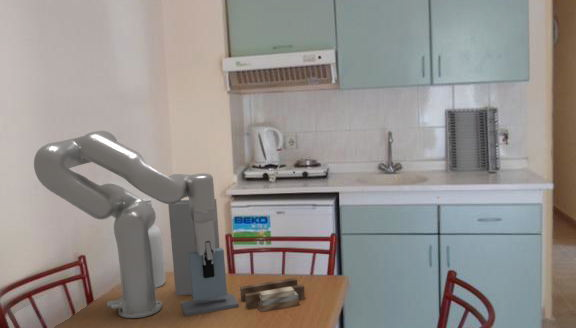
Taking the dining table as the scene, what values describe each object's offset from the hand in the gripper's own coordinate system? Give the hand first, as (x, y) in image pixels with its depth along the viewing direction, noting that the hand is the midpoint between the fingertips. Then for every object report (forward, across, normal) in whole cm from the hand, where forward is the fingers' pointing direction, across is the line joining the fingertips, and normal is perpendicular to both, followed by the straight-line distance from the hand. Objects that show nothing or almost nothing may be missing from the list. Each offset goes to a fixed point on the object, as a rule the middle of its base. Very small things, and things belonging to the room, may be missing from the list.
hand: (207, 274), depth 156 cm
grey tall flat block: (+10, -14, -1) cm, 17 cm away
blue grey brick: (+7, 0, 0) cm, 7 cm away
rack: (+10, +3, +19) cm, 21 cm away
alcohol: (+10, -28, -15) cm, 33 cm away
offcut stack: (+10, +9, +19) cm, 23 cm away
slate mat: (+10, 0, 0) cm, 10 cm away
